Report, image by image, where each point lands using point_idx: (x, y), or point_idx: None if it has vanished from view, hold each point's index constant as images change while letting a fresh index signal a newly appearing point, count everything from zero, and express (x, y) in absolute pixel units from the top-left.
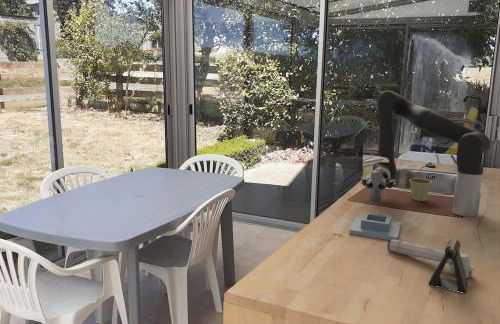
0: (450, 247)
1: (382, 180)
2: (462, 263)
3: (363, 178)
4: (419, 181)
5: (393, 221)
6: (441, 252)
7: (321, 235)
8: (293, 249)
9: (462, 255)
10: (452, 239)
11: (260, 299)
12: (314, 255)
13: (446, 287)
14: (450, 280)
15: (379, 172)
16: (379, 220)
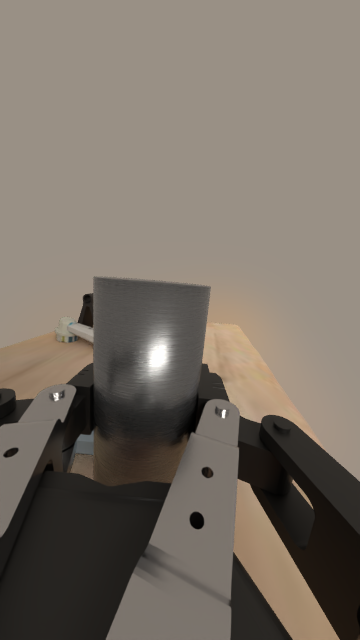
0: (90, 303)
1: (58, 423)
2: (80, 314)
3: (349, 482)
4: None
5: (78, 440)
6: (83, 325)
7: (239, 372)
8: (243, 348)
9: (67, 318)
10: (89, 294)
11: (218, 323)
12: (217, 345)
13: None
14: None
15: (135, 279)
16: None
